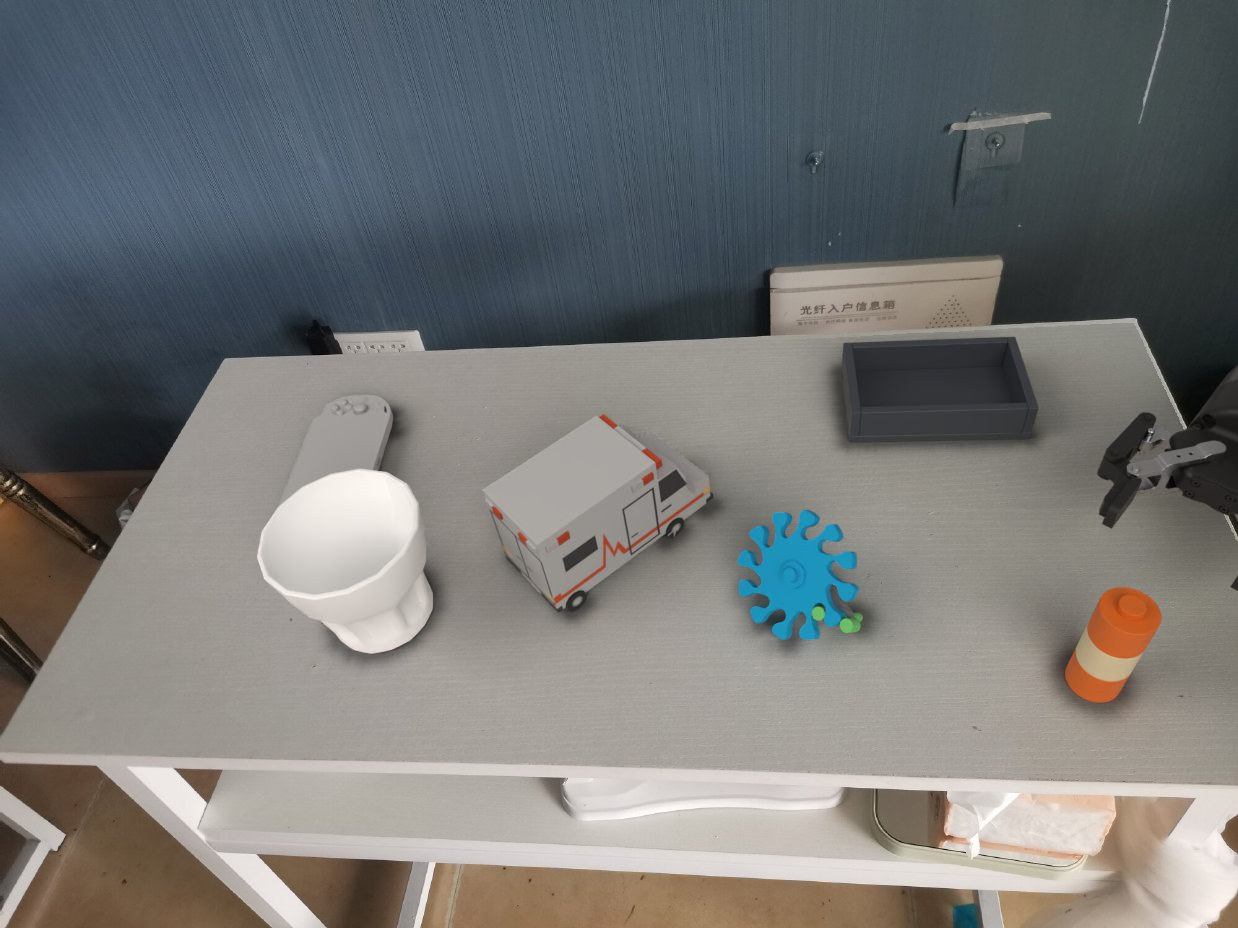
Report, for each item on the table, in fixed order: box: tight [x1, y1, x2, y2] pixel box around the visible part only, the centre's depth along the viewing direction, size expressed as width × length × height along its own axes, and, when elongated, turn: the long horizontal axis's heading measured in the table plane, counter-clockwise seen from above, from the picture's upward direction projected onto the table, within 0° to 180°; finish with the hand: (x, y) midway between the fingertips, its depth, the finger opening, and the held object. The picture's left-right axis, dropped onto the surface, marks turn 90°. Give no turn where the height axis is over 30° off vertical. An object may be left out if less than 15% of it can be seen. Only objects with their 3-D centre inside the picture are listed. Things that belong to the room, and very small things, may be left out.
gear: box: [737, 509, 864, 641], centre depth 69 cm, size 11×6×10 cm
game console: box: [277, 394, 394, 508], centre depth 86 cm, size 18×2×8 cm
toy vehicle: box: [481, 413, 714, 613], centre depth 73 cm, size 10×17×10 cm, turn 129°
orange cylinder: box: [1064, 586, 1163, 704], centre depth 59 cm, size 4×4×10 cm
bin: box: [840, 336, 1040, 443], centre depth 82 cm, size 16×10×4 cm, turn 85°
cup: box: [256, 469, 434, 655], centre depth 71 cm, size 12×12×11 cm
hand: (1172, 550), depth 60 cm, fingers open, 8 cm apart
